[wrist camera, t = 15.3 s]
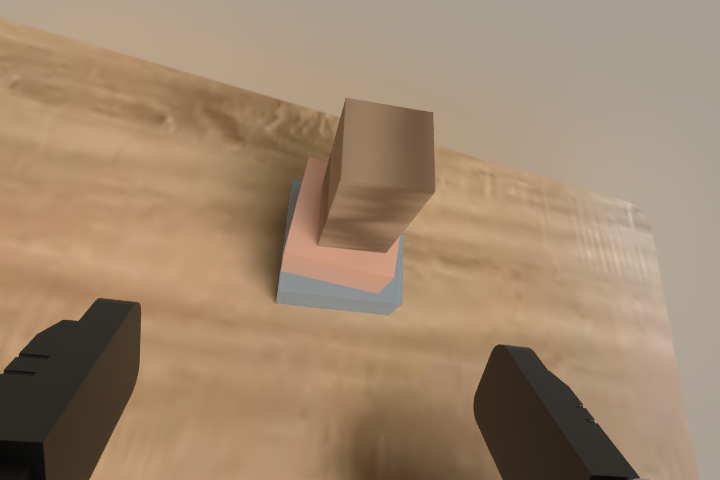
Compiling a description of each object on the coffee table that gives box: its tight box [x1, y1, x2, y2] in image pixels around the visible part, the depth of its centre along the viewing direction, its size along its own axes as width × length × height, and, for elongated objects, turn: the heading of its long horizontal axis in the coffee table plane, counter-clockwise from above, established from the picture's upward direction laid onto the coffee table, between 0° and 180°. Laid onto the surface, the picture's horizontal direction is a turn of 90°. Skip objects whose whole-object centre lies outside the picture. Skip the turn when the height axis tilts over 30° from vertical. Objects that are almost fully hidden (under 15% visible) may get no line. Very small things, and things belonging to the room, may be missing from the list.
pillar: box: [318, 98, 435, 253], centre depth 28 cm, size 5×5×10 cm
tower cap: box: [281, 157, 400, 294], centre depth 35 cm, size 8×8×4 cm
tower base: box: [276, 179, 403, 315], centre depth 39 cm, size 10×10×4 cm
